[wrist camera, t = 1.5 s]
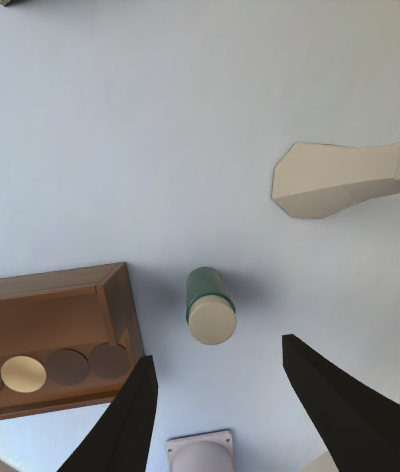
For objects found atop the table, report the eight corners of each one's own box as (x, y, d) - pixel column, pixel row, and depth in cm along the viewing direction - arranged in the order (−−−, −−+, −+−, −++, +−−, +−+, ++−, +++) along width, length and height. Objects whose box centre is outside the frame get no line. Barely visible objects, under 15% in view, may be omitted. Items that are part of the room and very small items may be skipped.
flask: (322, 229, 20) (456, 260, 10) (258, 204, 19) (336, 209, 9) (356, 160, 19) (544, 116, 9) (290, 129, 18) (418, 41, 8)
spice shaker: (224, 298, 20) (241, 343, 14) (188, 303, 20) (189, 351, 14) (221, 264, 20) (237, 295, 13) (183, 269, 20) (182, 303, 13)
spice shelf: (148, 373, 21) (136, 427, 16) (-13, 398, 21) (-78, 463, 16) (125, 261, 19) (103, 284, 14) (-59, 286, 18) (-154, 319, 13)
